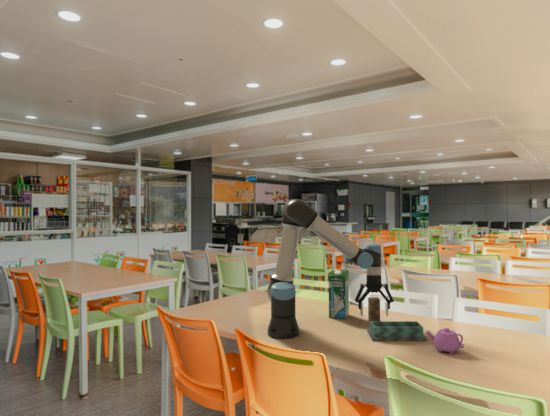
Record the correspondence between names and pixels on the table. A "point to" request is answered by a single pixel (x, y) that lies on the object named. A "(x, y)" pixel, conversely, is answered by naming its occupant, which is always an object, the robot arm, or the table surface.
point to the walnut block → (373, 309)
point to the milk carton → (339, 294)
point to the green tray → (396, 331)
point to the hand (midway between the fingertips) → (374, 315)
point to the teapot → (446, 340)
